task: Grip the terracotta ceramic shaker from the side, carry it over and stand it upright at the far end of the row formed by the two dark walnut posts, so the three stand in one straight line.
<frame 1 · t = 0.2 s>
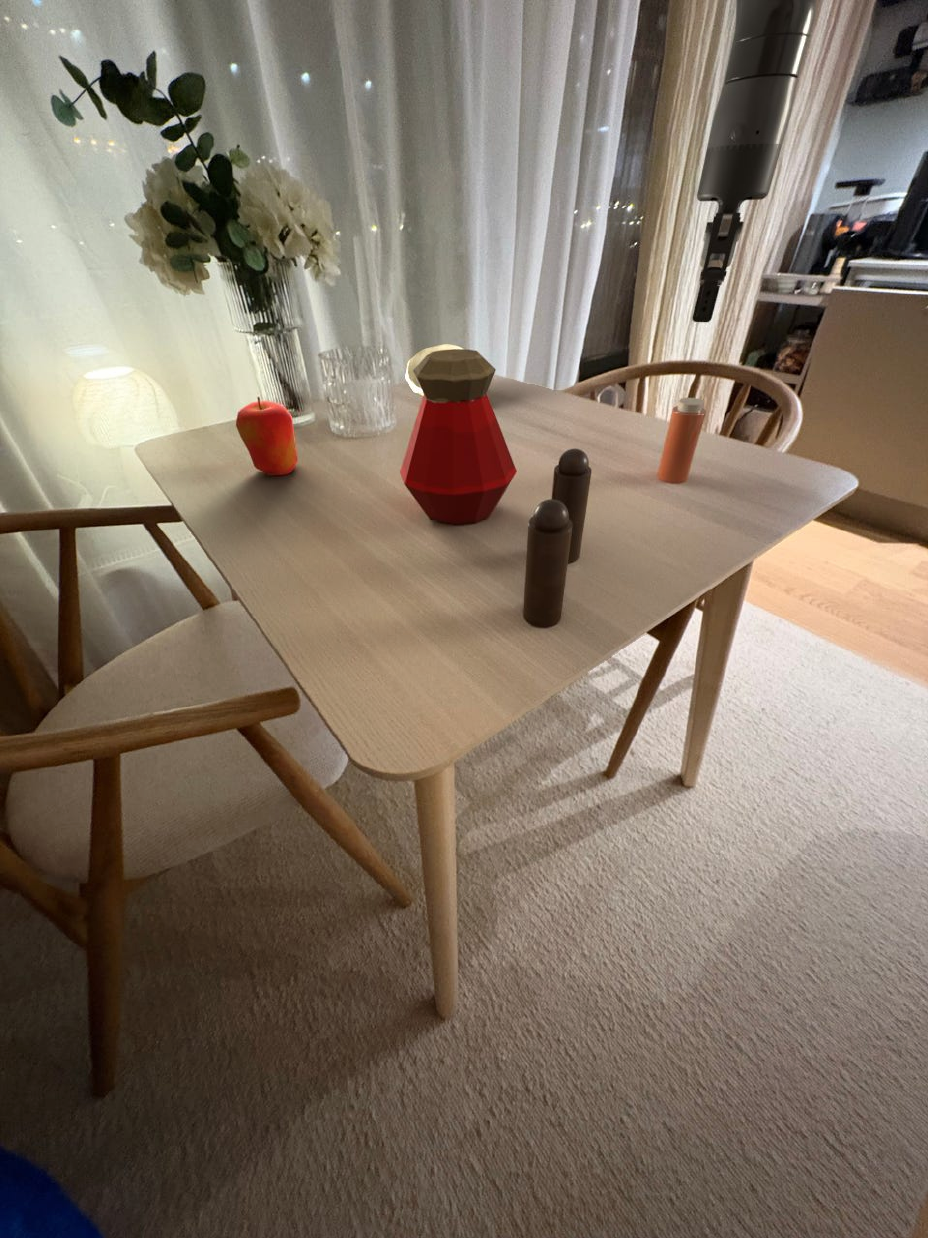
hand: (701, 316, 64), 21 cm above the table, tool pointing down, fingers open, 8 cm apart
post a: (541, 615, 52), on the table
bottle: (459, 512, 70), on the table
post b: (562, 554, 60), on the table
apple: (279, 471, 83), on the table
bowl: (442, 403, 107), on the table
shaker: (672, 477, 76), on the table
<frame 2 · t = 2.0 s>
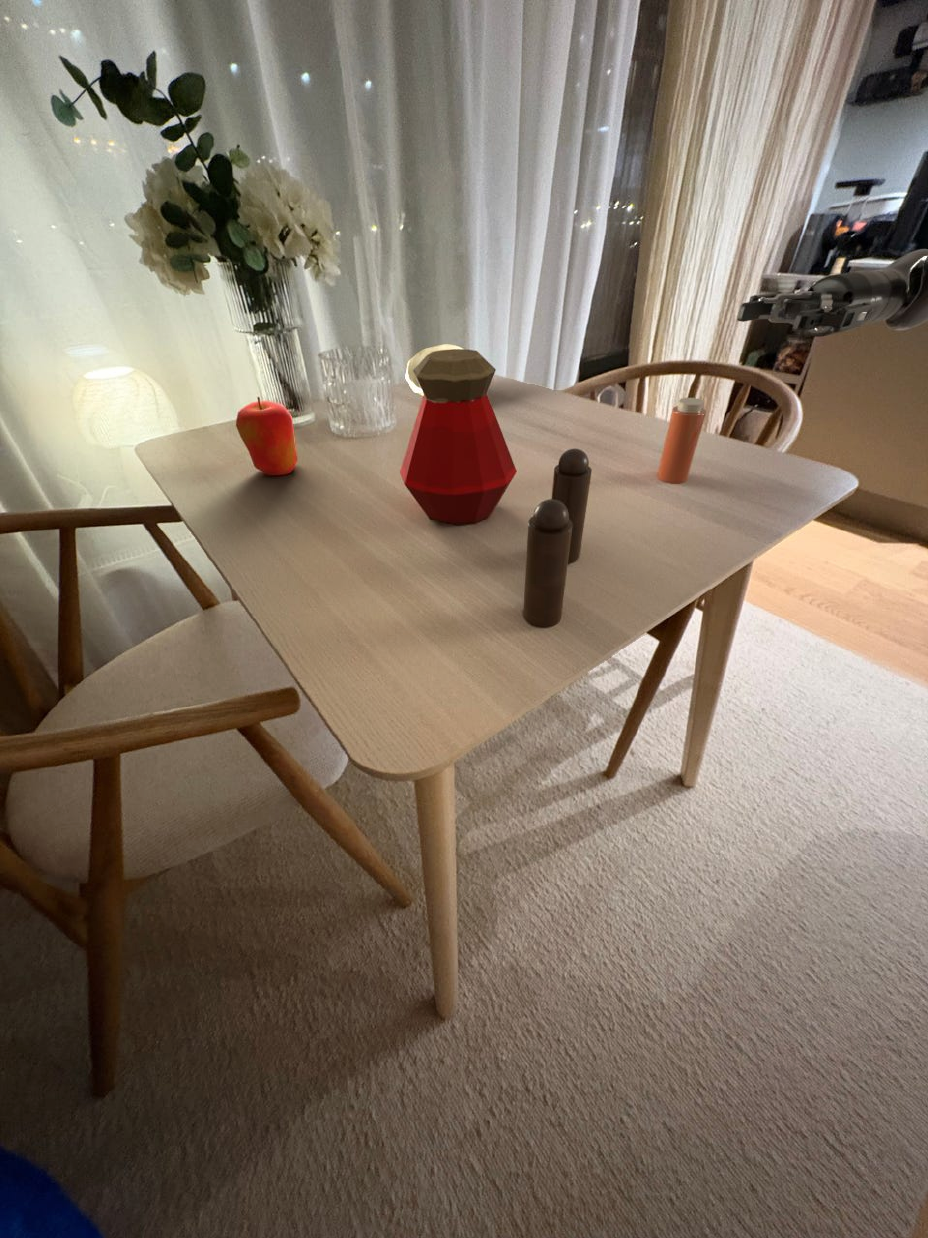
hand: (768, 317, 66), 20 cm above the table, tool horizontal, fingers open, 8 cm apart
nothing on the table moved.
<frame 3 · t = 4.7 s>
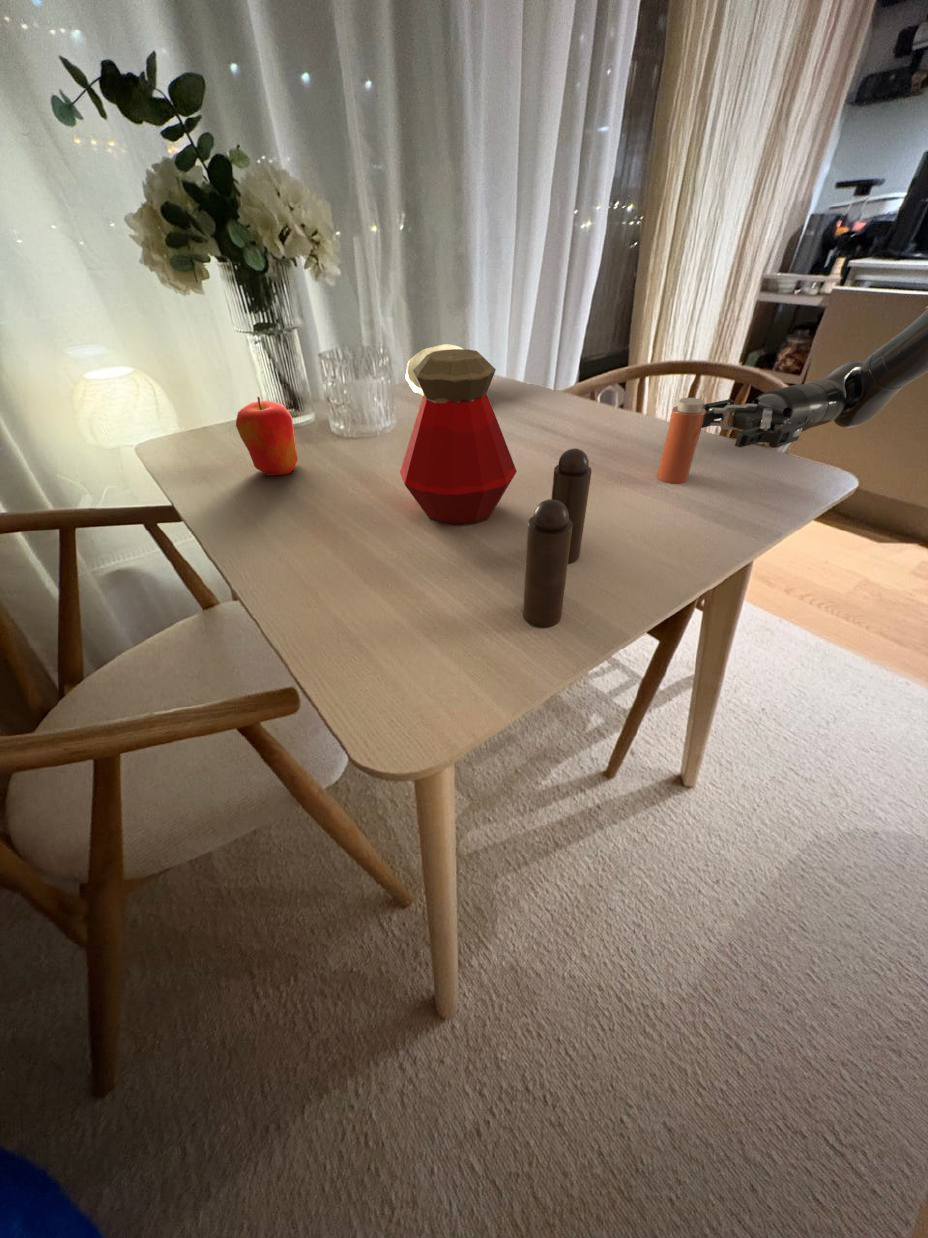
hand: (714, 430, 74), 6 cm above the table, tool horizontal, fingers open, 8 cm apart
nothing on the table moved.
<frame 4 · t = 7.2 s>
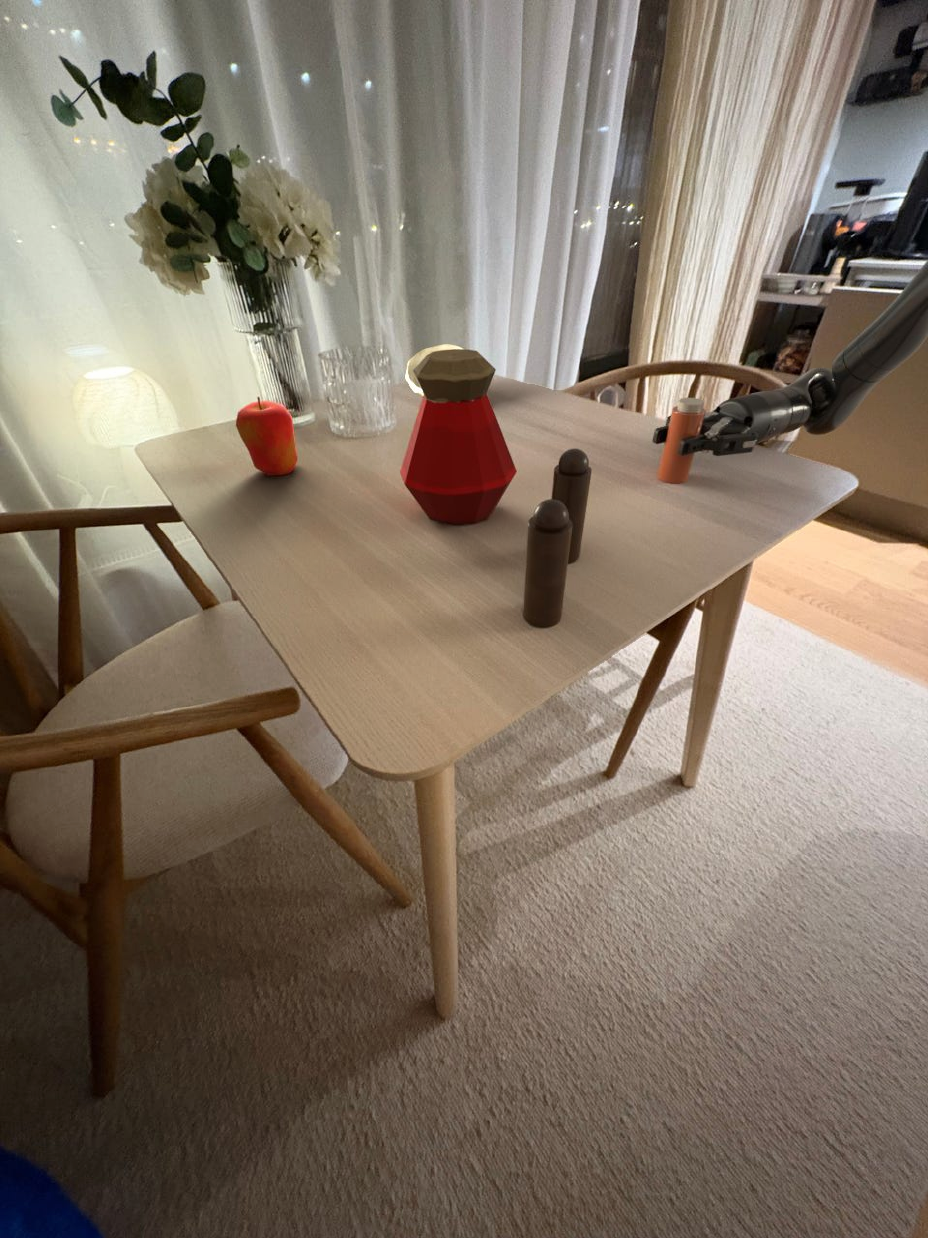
hand: (668, 442, 71), 6 cm above the table, tool horizontal, fingers closed on shaker, 4 cm apart
shaker: (672, 477, 76), on the table, touching gripper
everything else where it was.
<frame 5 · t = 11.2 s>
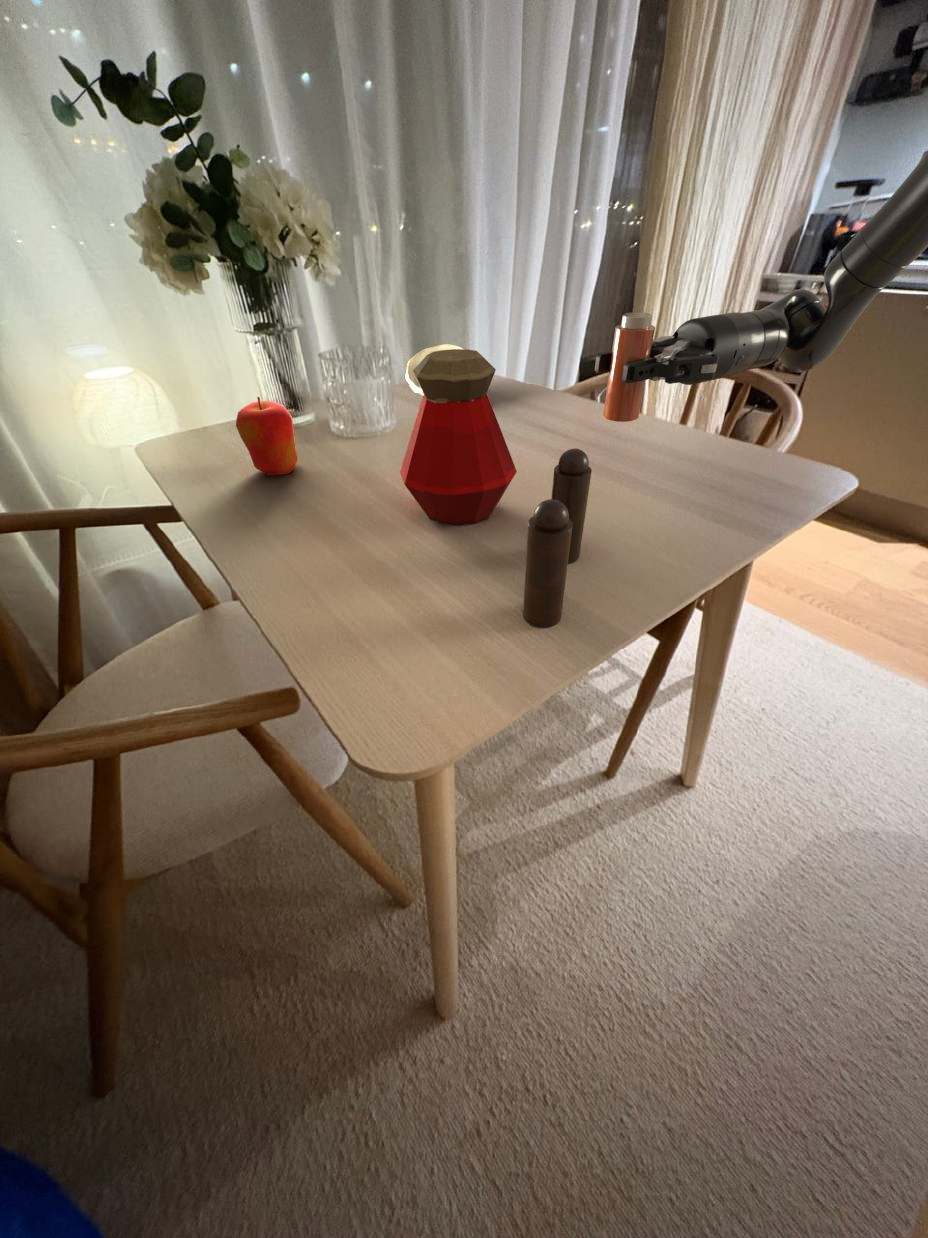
hand: (611, 368, 58), 18 cm above the table, tool horizontal, fingers closed on shaker, 4 cm apart
shaker: (620, 415, 63), point 12 cm above the table, touching gripper
everything else where it was.
when the fingers open (6 cm above the table, at t = 15.5 s): shaker stays where it is, on the table.
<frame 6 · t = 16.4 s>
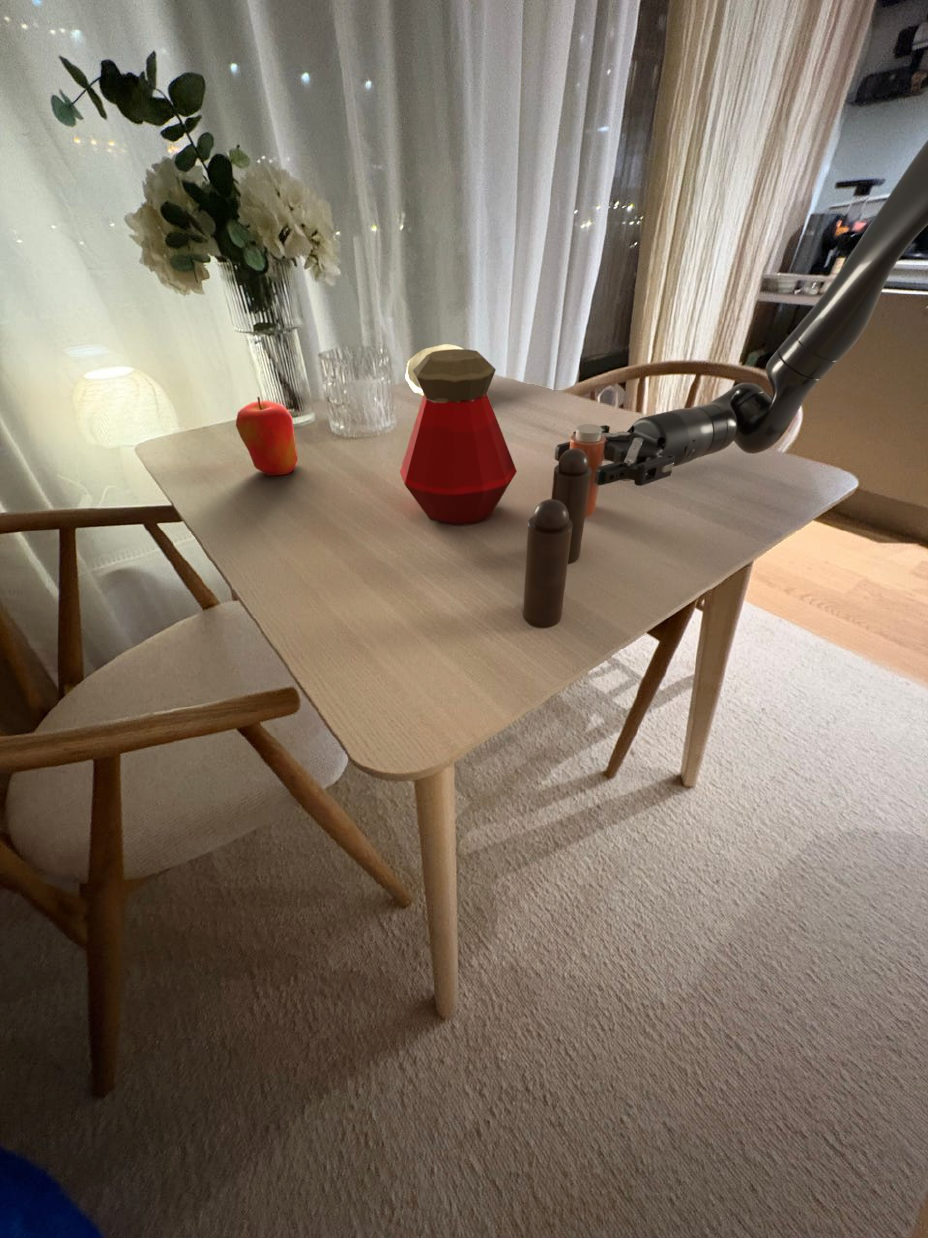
hand: (575, 464, 64), 7 cm above the table, tool horizontal, fingers open, 8 cm apart
shaker: (578, 509, 69), on the table
everything else where it was.
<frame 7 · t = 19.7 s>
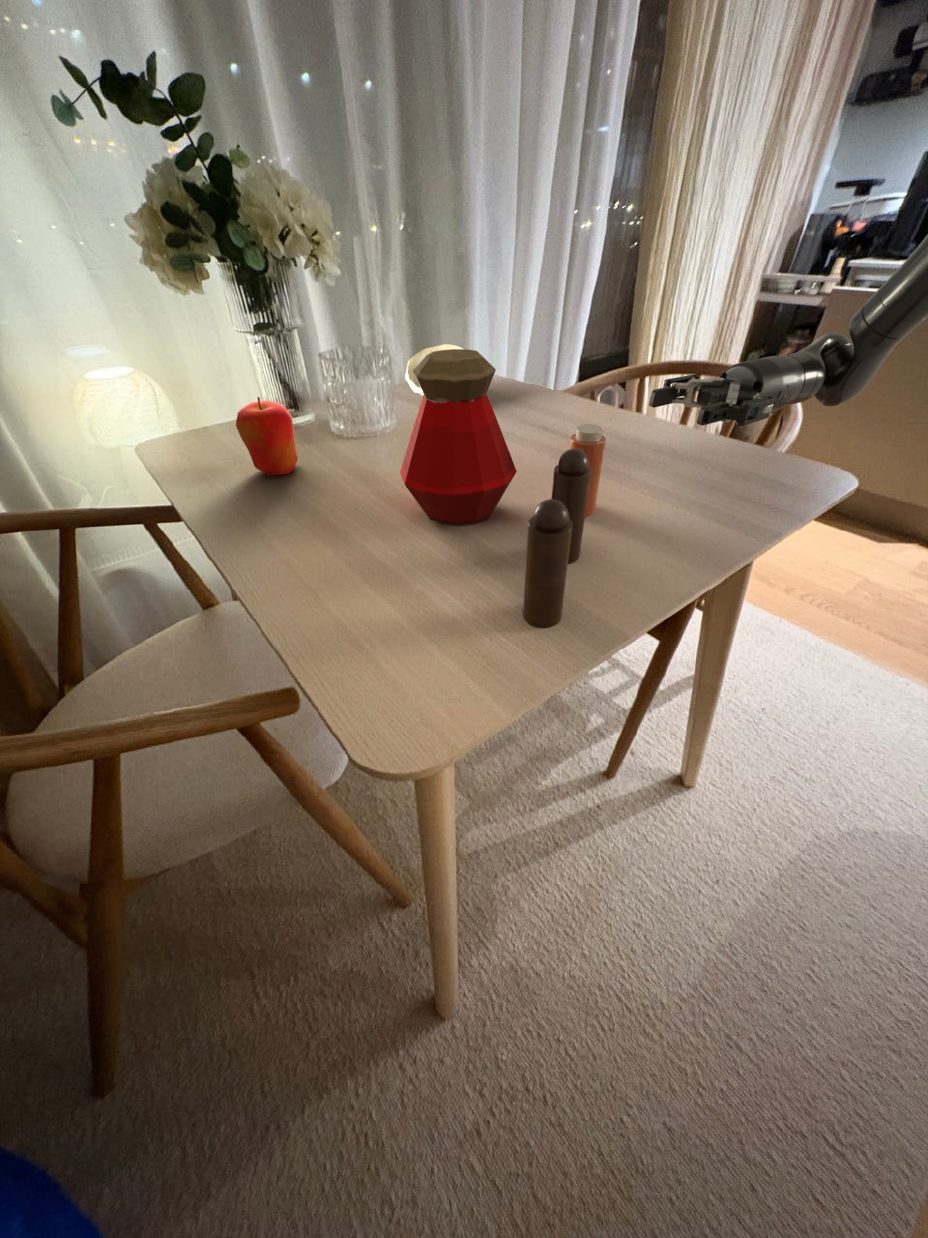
hand: (675, 407, 65), 12 cm above the table, tool horizontal, fingers open, 8 cm apart
nothing on the table moved.
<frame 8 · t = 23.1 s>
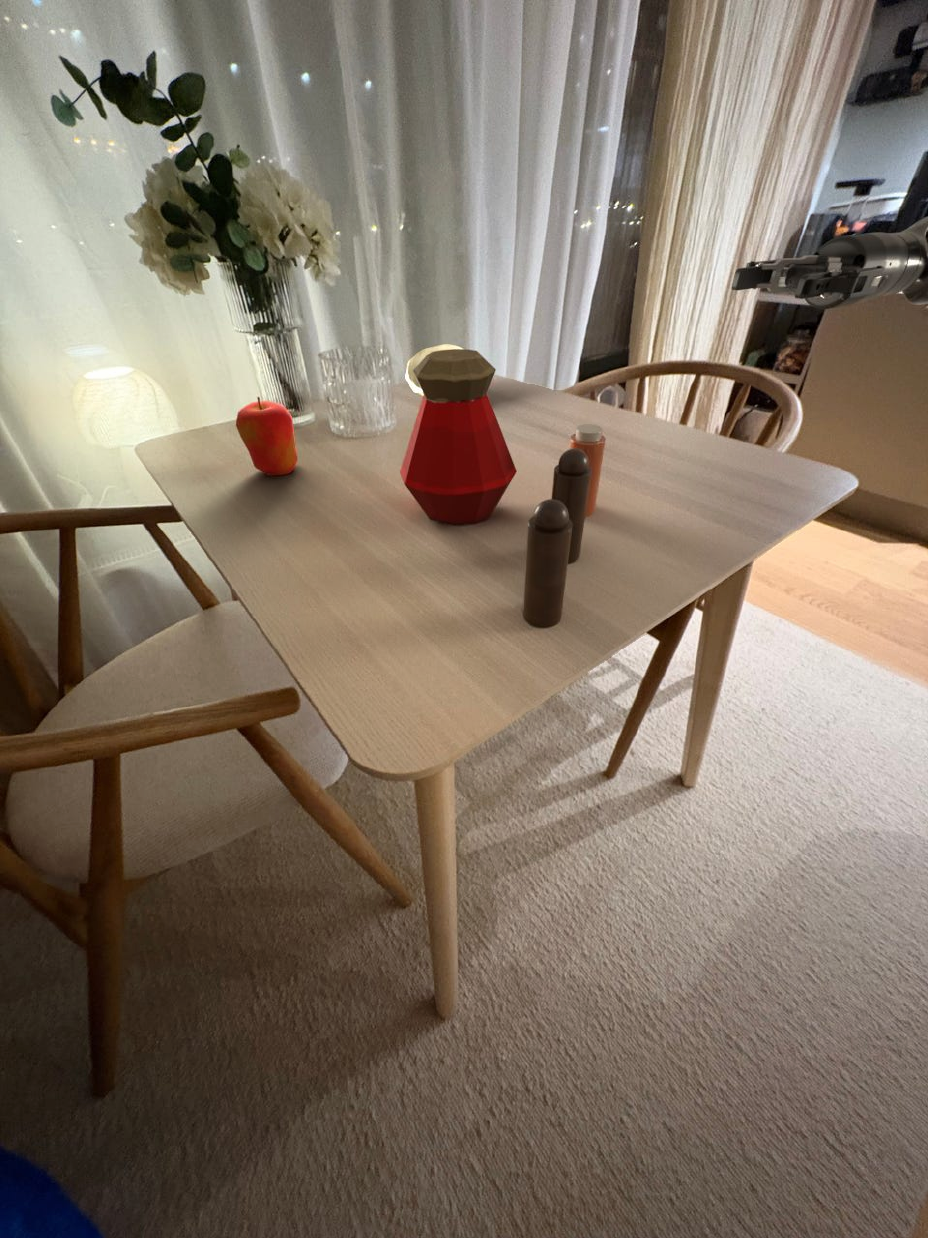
hand: (766, 283, 57), 25 cm above the table, tool horizontal, fingers open, 8 cm apart
nothing on the table moved.
at the end: shaker 0.1 cm from the target spot on the table beside the post a, on the table; shaker tilted 0°; post b moved 0.0 cm from its start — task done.
